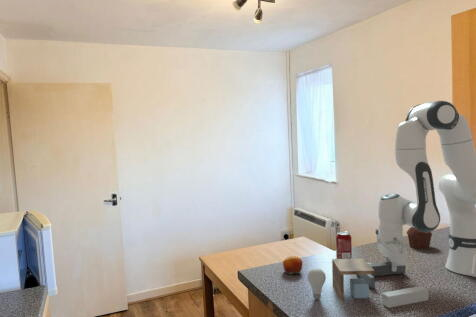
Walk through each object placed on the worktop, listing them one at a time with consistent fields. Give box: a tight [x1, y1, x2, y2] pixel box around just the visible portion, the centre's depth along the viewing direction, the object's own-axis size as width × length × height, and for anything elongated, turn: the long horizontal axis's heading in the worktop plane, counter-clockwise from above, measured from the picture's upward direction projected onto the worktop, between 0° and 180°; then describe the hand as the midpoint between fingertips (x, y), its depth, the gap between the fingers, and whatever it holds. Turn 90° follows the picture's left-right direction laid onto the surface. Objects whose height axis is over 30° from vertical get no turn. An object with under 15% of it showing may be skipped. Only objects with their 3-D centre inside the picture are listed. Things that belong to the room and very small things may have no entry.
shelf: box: [331, 258, 375, 301], centre depth 128 cm, size 12×12×10 cm
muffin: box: [406, 226, 433, 250], centre depth 177 cm, size 12×11×10 cm
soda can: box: [335, 230, 353, 259], centre depth 163 cm, size 7×7×12 cm
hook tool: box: [355, 261, 407, 289], centre depth 139 cm, size 19×13×4 cm
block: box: [349, 277, 370, 299], centre depth 126 cm, size 5×5×5 cm
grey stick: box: [381, 285, 429, 309], centre depth 120 cm, size 16×3×4 cm, turn 106°
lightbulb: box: [307, 267, 327, 301], centre depth 124 cm, size 6×6×11 cm
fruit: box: [282, 255, 303, 276], centre depth 149 cm, size 8×8×8 cm
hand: (391, 268), depth 144 cm, fingers closed on hook tool, 3 cm apart
